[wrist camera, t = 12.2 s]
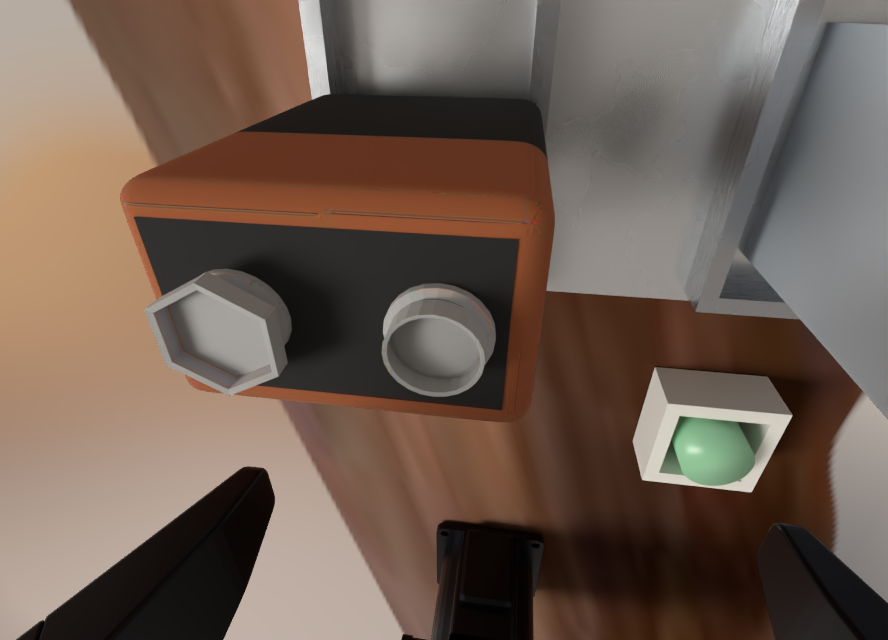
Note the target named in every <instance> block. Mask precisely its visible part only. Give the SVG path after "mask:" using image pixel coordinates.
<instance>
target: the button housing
mask: <svg viewBox="0 0 888 640" xmlns="http://www.w3.org/2000/svg"><path fill="white" fill-rule="evenodd" d="M679 416H685V417H696V418H706V419H716V420H727V421H737V422H738V423H739V425H740V427H741V429H742V431H743V433H744V435H745V437H746V439H747V441H748V443H749V445H750V447H751V449H752V451H753V453H754V455H755V464H754V467H753V469H752V470H751V471H750V472H749V473H748V474H747V475H746V476H745V477H743V478H742V479H740V480H738V481H736V482H733V483H730V484H726V485H719V486H708V485H702V484H698V483H695V482H693V481H691V480H690V479H688V478H687V477H686V476H685V475H684V474H683V472H682V470H681V467H680V464H679V461H678V458H677V455H676V452H675V449H674V446H673V443H672V440H671V438H672V436H673V433H674V430H675V427H676V424H677V422H678V419H679ZM792 416H793V415H792V413H791V412H790V410H789V409H788V407H787V406H786V404H785V403H784V401H783V400H782V398H781V397H780V395H779V393H778V392H777V390H776V389H775V387H774V386H773V384H772V383H771V381H770V380H769V378H768V377H766V376H754V375H742V374H731V373H719V372H707V371H696V370H684V369H673V368H661V367H655V369H654V372H653V375H652V379H651V382H650V385H649V389H648V392H647V395H646V398H645V402H644V405H643V408H642V412H641V415H640V418H639V422H638V425H637V428H636V431H635V435H634V438H633V444H634V449H635V453H636V457H637V461H638V465H639V469H640V473H641V477H642V480H647V481H656V482H664V483H673V484H682V485H691V486H700V487H708V488H717V489H726V490H735V491H744V492H752V490H753V488H754V487H755V485H756V483H757V481H758V479H759V477H760V475H761V474H762V472H763V470H764V468H765V466H766V464H767V462H768V461H769V459H770V457H771V455H772V453H773V451H774V449H775V448H776V446H777V444H778V442H779V440H780V438H781V436H782V434H783V433H784V431H785V429H786V427H787V425H788V423H789V421H790V420H791V418H792Z"/></svg>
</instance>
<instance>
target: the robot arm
mask: <svg viewBox="0 0 888 640" xmlns="http://www.w3.org/2000/svg"><path fill="white" fill-rule="evenodd" d="M274 504H275V496H274V492H273V489H272V485H271V482H270V479H269V475H268V473H267V471H266V470H265V469H264V468H258V467H243V468H241V469H240V470H238V471H237V472H236V473H234V474H233V475H232V476H230V477H229V478H228V479H226V480H225V481H224V482H223V483H221V484H220V485H219V486H217V487H216V488H215V489H213V490H212V491H211V492H210V493H208V494H207V495H205V496H204V497H203V498H201V499H200V500H199V501H198V502H196V503H195V504H194V505H192V506H191V507H190V508H188V509H187V510H186V511H185V512H183V513H182V514H180V515H179V516H178V517H177V518H175V519H174V520H173V521H171V522H170V523H169V524H167V525H166V526H165V527H164V528H162V529H161V530H159V531H158V532H157V533H156V534H154V535H153V536H152V537H150V538H149V539H148V540H146V541H145V542H144V543H143V544H141V545H140V546H139V547H137V548H136V549H135V550H133V551H132V552H131V553H130V554H128V555H127V556H125V557H124V558H123V559H121V560H120V561H119V562H117V563H116V564H115V565H114V566H112V567H111V568H110V569H108V570H107V571H106V572H105V573H103V574H102V575H100V576H99V577H98V578H97V579H95V580H94V581H93V582H91V583H90V584H89V585H87V586H86V587H85V588H84V589H82V590H81V591H79V592H78V593H77V594H76V595H74V596H73V597H72V598H70V599H69V600H68V601H66V602H65V603H64V604H62V605H61V606H60V607H59V608H57V609H56V610H54V611H53V612H52V613H51V614H49V615H48V616H47V617H46V619H45V621H44V620H42V621H40V622H38V623H37V624H36V625H35V626H33V627H32V628H31V629H29V630H28V631H27V632H25V633H24V634H23V635H21V636H20V637H19V638H17V639H16V640H223V639H224V637H225V635H226V632H227V630H228V628H229V626H230V623H231V621H232V619H233V617H234V615H235V613H236V610H237V608H238V606H239V604H240V602H241V599H242V597H243V594H244V592H245V590H246V587H247V584H248V582H249V579H250V576H251V574H252V571H253V568H254V565H255V562H256V559H257V556H258V553H259V550H260V547H261V544H262V541H263V538H264V535H265V532H266V529H267V526H268V523H269V520H270V517H271V514H272V512H273V508H274ZM543 549H544V539H543V538H542V537H541V536H539V535H535V534H527V533H519V532H511V531H504V530H496V529H488V528H481V527H473V526H465V525H457V524H450V523H440V524H439V525H438V527H437V582H438V584H439V589H438V595H437V602H436V609H435V615H434V622H433V628H432V635H431V640H533V597H534V596H535V590H536V585H537V580H538V575H539V570H540V564H541V559H542V554H543ZM757 566H758V570H759V574H760V578H761V582H762V586H763V590H764V595H765V599H766V603H767V607H768V611H769V615H770V619H771V623H772V627H773V631H774V635H775V639H776V640H888V603H887V602H886V601H885V600H884V599H883V598H882V597H880V596H879V595H878V594H877V593H876V592H875V591H874V590H873V589H872V588H871V587H869V586H868V585H867V584H866V583H865V582H864V581H863V580H862V579H861V578H859V576H857V575H856V574H855V573H854V572H853V571H852V570H851V569H850V568H849V567H847V566H846V565H845V564H844V563H843V562H842V561H841V560H840V559H839V558H838V557H837V556H836V555H834V554H833V553H832V552H831V551H830V550H829V549H828V548H827V547H826V546H825V545H823V544H822V543H821V542H820V541H819V540H818V539H817V538H816V537H815V536H814V535H813V534H811V533H810V532H809V531H808V530H807V529H805V528H804V527H802V526H799V525H793V524H784V523H775V524H773V525H772V526H771V527H770V529H769V531H768V533H767V535H766V536H765V538H764V540H763V542H762V544H761V546H760V548H759V549H758V552H757ZM402 640H425V639H419V638H413V635H406V634H403V636H402Z"/></svg>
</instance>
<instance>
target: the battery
mask: <svg viewBox="0 0 888 640" xmlns="http://www.w3.org/2000/svg"><path fill="white" fill-rule="evenodd" d="M120 200H121V204H122V208H123V211H124V213H125V216H126V219H127V222H128V224H129V227H130V230H131V232H132V235H133V238H134V240H135V243H136V246H137V248H138V251H139V254H140V256H141V259H142V262H143V265H144V267H145V270H146V273H147V275H148V278H149V281H150V283H151V286H152V288H153V291H154V294H155V297H156V299H157V300H156V301H155V302H153V303H152V304H151V305H150V306H148V307H147V308H146V309H144V311H145V313H146V315H147V318H148V321H149V323H150V326H151V328H152V331H153V333H154V336H155V338H156V341H157V344H158V346H159V348H160V351H161V354H162V356H163V359H164V361H165V364H166V365H167V366H169V367H170V368H173V369H175V370H177V371H179V372H181V373H183V374H185V376H186V378H187V380H188V382H189V383H190V384H191V385H192V386H193V387H194V388H196V389H199V390H202V391H207V392H215V393H223V394H227V395H229V396H231V395H242V396H251V397H261V398H271V399H280V400H290V401H299V402H309V403H318V404H328V405H338V406H347V407H357V408H366V409H376V410H385V411H395V412H404V413H414V414H424V415H433V416H443V417H452V418H462V419H472V420H482V421H493V422H512V421H516V420H519V419H520V418H522V417H523V416H524V415H525V414H526V412H527V411H528V409H529V407H530V404H531V399H532V393H533V386H534V379H535V371H536V364H537V356H538V349H539V341H540V334H541V327H542V319H543V312H544V304H545V297H546V290H547V282H548V275H549V267H550V260H551V252H552V245H553V237H554V229H555V212H554V204H553V197H552V189H551V182H550V174H549V167H548V159H547V152H546V144H545V137H544V130H543V122H542V115H541V111H540V109H539V108H538V106H537V105H536V104H535V103H533V102H532V101H529V100H524V99H508V98H470V97H430V96H390V95H350V94H328V95H323V96H320V97H317V98H315V99H313V100H310V101H308V102H306V103H303V104H301V105H299V106H296V107H294V108H292V109H290V110H287V111H285V112H283V113H280V114H278V115H276V116H273V117H271V118H269V119H266V120H264V121H262V122H259V123H257V124H255V125H252V126H250V127H248V128H245V129H243V130H241V131H238V132H236V133H234V134H232V135H229V136H227V137H225V138H222V139H220V140H218V141H215V142H213V143H211V144H208V145H206V146H204V147H201V148H199V149H197V150H194V151H192V152H190V153H187V154H185V155H183V156H180V157H178V158H176V159H174V160H171V161H169V162H167V163H164V164H162V165H160V166H157V167H155V168H153V169H150V170H148V171H146V172H144V173H141V174H139V175H137V176H136V177H134V178H132V179H131V180H130V181H129V182H127V184H125V186H124V187H123V189H122V191H121V194H120Z"/></svg>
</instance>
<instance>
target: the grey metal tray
mask: <svg viewBox="0 0 888 640" xmlns="http://www.w3.org/2000/svg"><path fill="white" fill-rule="evenodd" d="M299 8H300V15H301V22H302V30H303V37H304V44H305V52H306V59H307V66H308V74H309V81H310V88H311V96H312V100H313V99H315V98H317V97H320V96H323V95H328V94H350V95H390V96H430V97H470V98H508V99H524V100H529V101H532V102H533V103H535V104H536V105H537V106H538V108H539V109H540V111H541V115H542V122H543V130H544V137H545V144H546V152H547V159H548V167H549V174H550V182H551V189H552V197H553V204H554V212H555V229H554V237H553V245H552V252H551V260H550V267H549V275H548V282H547V290H546V291H557V292H572V293H586V294H601V295H615V296H629V297H644V298H658V299H672V300H687V301H690V303H691V305H692V306H693V308H694V310H695V312H704V313H718V314H732V315H746V316H760V317H774V318H788V319H800V318H799V317H798V316H797V315H796V314H795V313H794V312H793V310H792V309H791V308H790V307H789V306H788V305H787V304H786V302H785V301H784V300H783V299H782V298H781V297H780V296H779V295H778V293H777V292H776V291H775V290H774V289H773V288H772V287H771V285H770V284H769V283H768V282H767V281H766V280H765V279H764V277H763V276H762V275H761V274H760V273H759V272H758V271H757V269H756V268H755V267H754V266H753V265H752V264H751V263H750V261H749V260H748V259H747V258H746V257H745V256H744V252H745V250H746V247H747V244H748V242H749V239H750V236H751V233H752V231H753V228H754V225H755V223H756V220H757V217H758V214H759V212H760V209H761V206H762V204H763V201H764V198H765V196H766V193H767V190H768V187H769V185H770V182H771V179H772V177H773V174H774V171H775V169H776V166H777V163H778V160H779V158H780V155H781V152H782V150H783V147H784V144H785V142H786V139H787V136H788V133H789V131H790V128H791V125H792V123H793V120H794V117H795V114H796V112H797V109H798V106H799V104H800V101H801V98H802V96H803V93H804V90H805V87H806V85H807V82H808V79H809V77H810V74H811V71H812V69H813V66H814V63H815V60H816V58H817V55H818V52H819V50H820V47H821V44H822V42H823V39H824V36H825V33H826V31H827V28H828V25H829V23H830V22H888V0H299Z"/></svg>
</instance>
